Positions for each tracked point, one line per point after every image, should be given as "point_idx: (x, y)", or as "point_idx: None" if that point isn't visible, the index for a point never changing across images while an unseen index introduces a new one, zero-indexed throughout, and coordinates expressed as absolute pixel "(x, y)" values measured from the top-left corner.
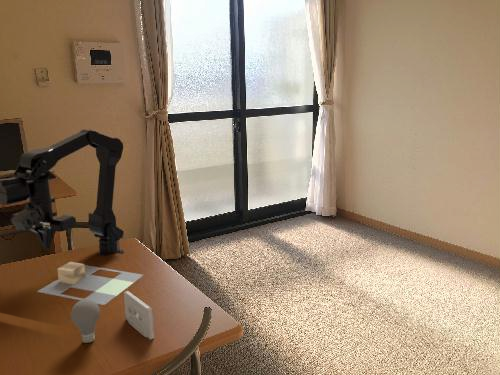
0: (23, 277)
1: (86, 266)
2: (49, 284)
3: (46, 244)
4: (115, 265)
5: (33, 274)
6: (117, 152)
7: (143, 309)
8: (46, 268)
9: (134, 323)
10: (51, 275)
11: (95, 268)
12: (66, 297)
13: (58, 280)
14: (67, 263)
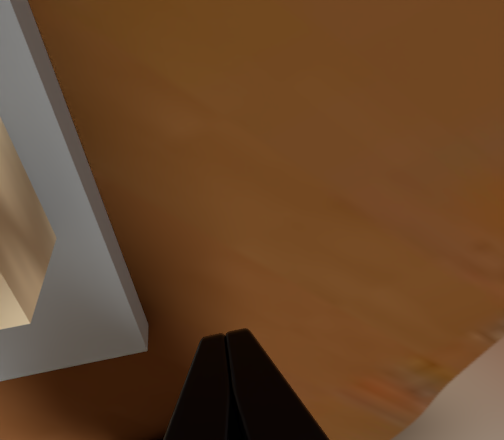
0: (456, 39)
1: (95, 349)
2: (9, 12)
3: (173, 419)
4: (23, 428)
5: (415, 115)
6: None
7: None
8: (396, 217)
9: None
10: (267, 172)
11: (6, 362)
12: None
13: (28, 114)
14: (6, 292)
